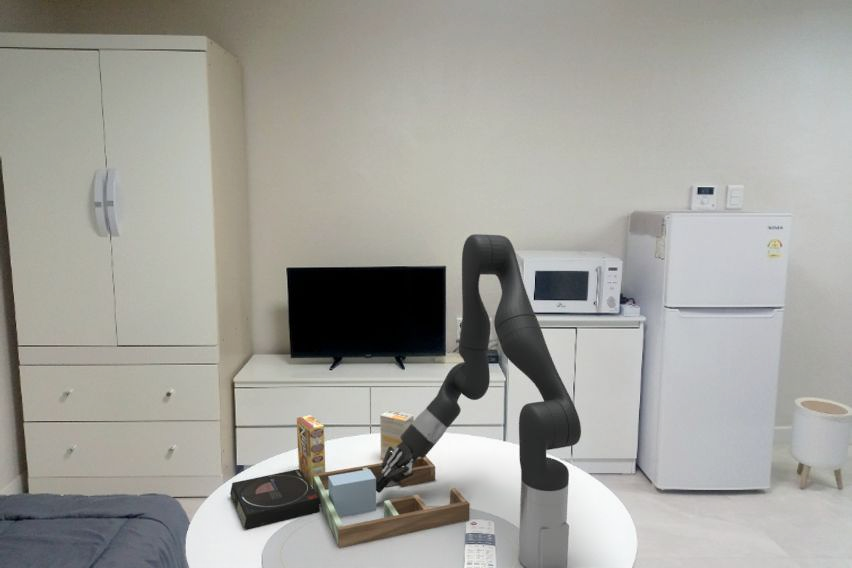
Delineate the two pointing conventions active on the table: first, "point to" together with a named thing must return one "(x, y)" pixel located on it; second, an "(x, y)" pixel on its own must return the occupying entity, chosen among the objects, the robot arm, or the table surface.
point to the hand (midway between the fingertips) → (375, 489)
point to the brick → (353, 492)
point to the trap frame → (392, 508)
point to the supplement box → (393, 429)
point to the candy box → (310, 447)
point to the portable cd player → (274, 498)
